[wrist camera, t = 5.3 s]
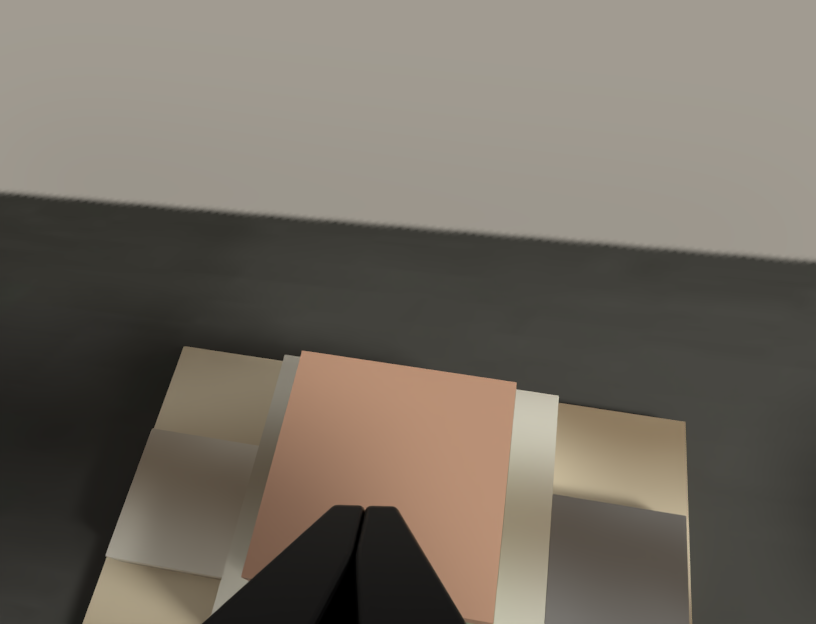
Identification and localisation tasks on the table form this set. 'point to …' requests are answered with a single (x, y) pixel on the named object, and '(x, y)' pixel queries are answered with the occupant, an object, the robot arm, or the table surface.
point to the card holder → (522, 524)
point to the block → (396, 465)
